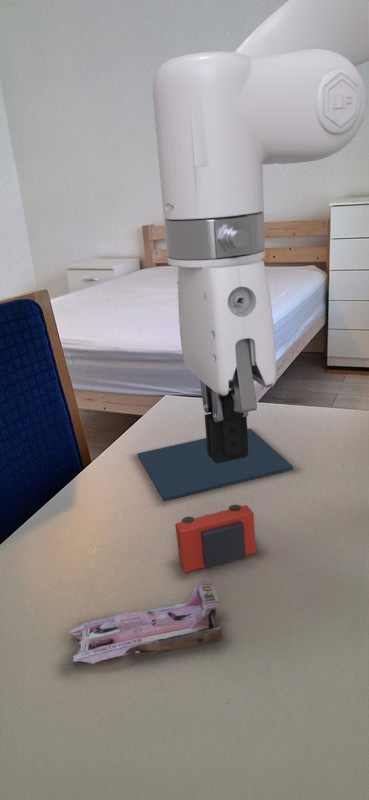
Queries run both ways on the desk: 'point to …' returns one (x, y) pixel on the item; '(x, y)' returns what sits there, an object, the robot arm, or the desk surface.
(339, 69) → the robot arm
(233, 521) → the red toy vehicle
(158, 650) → the toy boat
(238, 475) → the mat
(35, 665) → the desk surface
